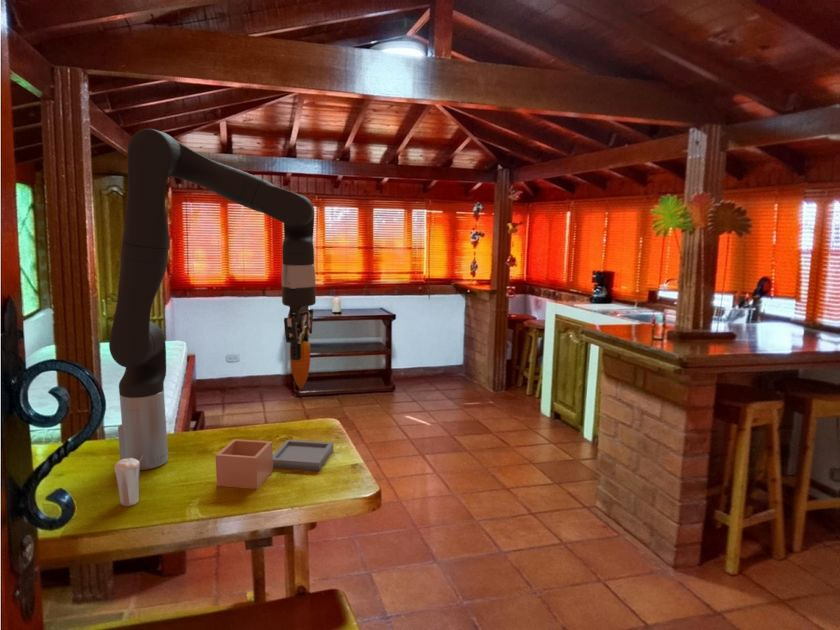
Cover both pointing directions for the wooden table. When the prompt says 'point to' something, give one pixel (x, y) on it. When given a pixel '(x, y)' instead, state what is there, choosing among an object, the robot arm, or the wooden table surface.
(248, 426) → the wooden table surface
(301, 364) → the carrot
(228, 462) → the box
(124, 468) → the milkshake
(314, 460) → the tray
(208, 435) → the wooden table surface
